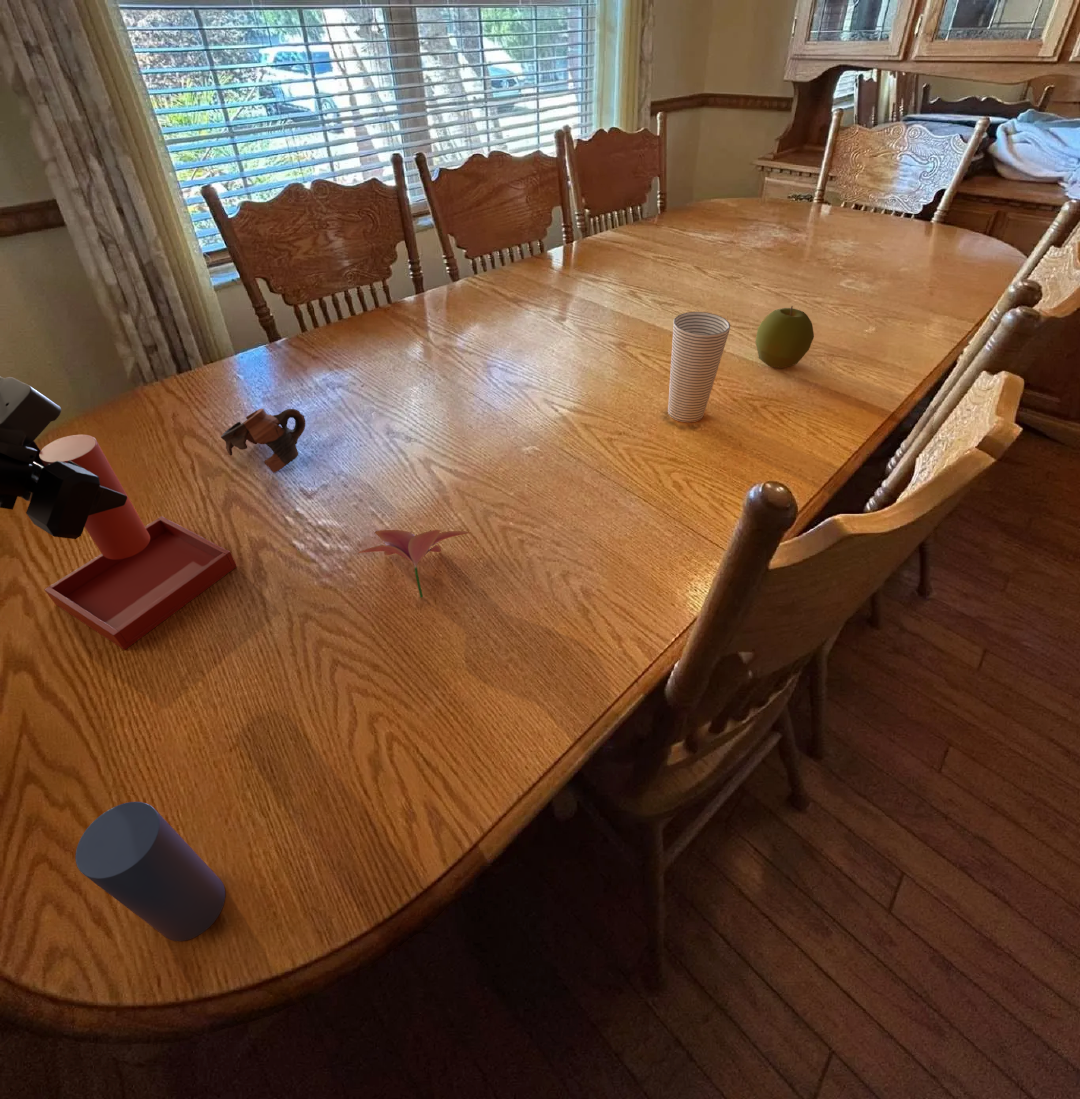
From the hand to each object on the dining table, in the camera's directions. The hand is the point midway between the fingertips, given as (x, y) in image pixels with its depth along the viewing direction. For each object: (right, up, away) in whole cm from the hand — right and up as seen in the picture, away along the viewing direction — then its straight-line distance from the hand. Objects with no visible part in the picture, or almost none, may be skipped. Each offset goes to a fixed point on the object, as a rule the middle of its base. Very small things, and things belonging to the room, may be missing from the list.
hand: (110, 492), depth 68 cm
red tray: (-1, -10, +9) cm, 14 cm away
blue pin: (+18, -35, -17) cm, 43 cm away
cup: (+71, +16, +38) cm, 82 cm away
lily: (+31, -9, +10) cm, 34 cm away
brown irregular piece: (+5, +8, +29) cm, 30 cm away
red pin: (-1, -6, +4) cm, 7 cm away
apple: (+91, +29, +51) cm, 108 cm away
